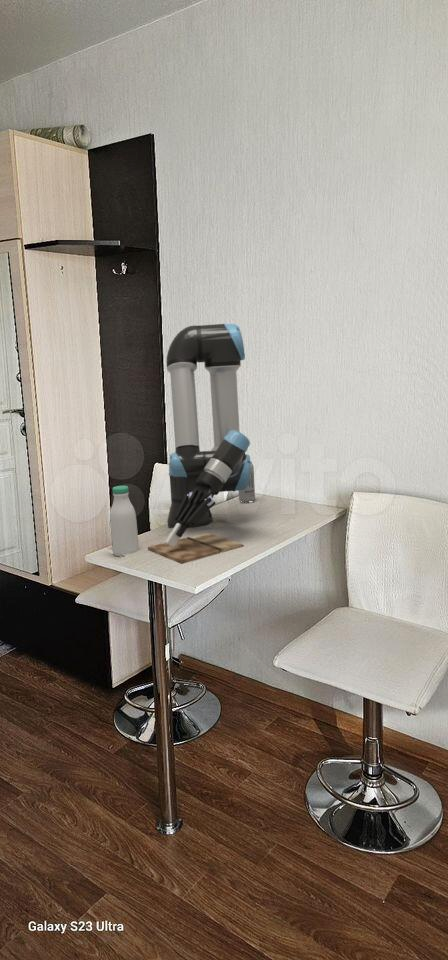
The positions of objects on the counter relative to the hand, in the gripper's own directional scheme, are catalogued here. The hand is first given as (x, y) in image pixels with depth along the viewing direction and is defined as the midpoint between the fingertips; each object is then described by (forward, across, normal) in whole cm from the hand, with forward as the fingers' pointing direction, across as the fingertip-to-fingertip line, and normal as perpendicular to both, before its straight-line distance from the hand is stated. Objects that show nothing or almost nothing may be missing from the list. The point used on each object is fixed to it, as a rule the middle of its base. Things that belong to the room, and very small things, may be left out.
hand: (169, 544), depth 198 cm
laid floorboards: (-8, 0, -14) cm, 16 cm away
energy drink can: (-38, +37, -44) cm, 68 cm away
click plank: (-5, 0, -10) cm, 11 cm away
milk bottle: (+8, +14, +2) cm, 16 cm away
